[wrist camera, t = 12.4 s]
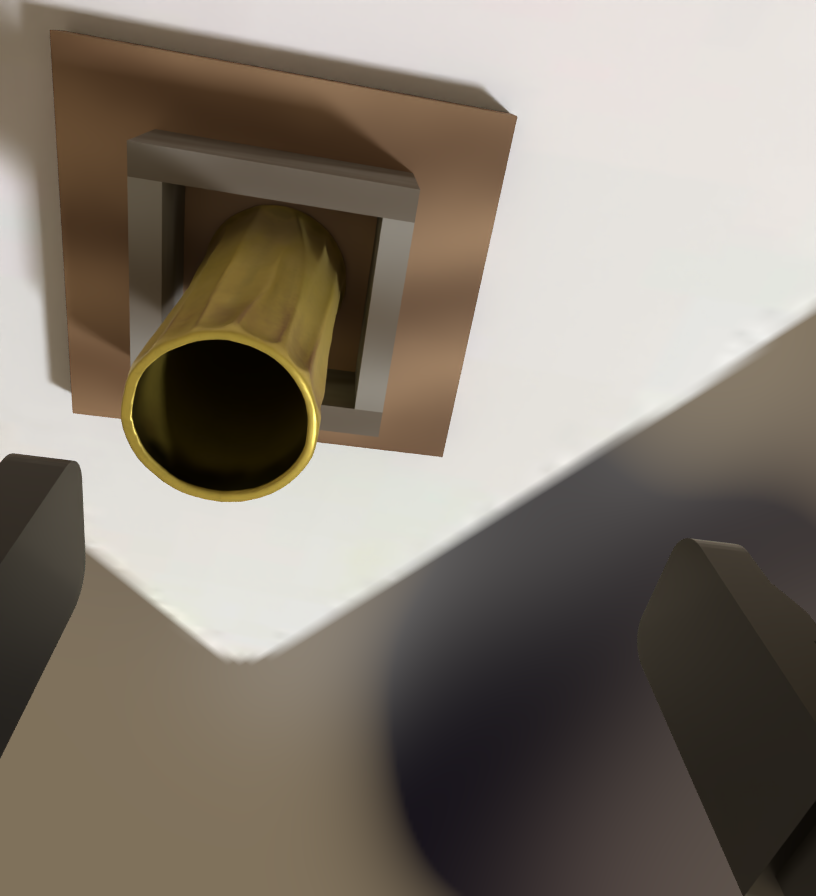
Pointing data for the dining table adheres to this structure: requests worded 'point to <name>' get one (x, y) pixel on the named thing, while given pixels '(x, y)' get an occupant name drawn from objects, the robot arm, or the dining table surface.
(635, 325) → the dining table surface
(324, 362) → the vase
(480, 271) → the dock
